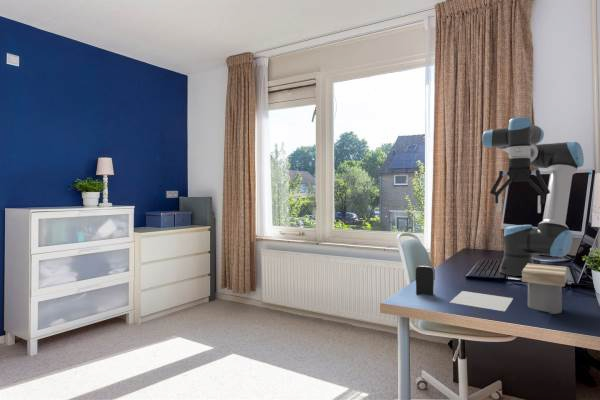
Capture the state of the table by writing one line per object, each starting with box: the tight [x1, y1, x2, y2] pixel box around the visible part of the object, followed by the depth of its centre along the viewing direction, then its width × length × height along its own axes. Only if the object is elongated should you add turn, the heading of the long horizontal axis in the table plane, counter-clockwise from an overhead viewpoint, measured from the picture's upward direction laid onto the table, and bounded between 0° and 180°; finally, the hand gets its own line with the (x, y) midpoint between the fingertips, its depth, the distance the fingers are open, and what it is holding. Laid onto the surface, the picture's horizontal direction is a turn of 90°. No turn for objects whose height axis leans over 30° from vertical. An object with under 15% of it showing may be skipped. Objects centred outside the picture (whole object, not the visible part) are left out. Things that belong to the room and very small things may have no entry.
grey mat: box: [449, 290, 514, 313], centre depth 143 cm, size 18×18×1 cm
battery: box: [415, 264, 436, 296], centre depth 153 cm, size 7×4×11 cm, turn 58°
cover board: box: [521, 263, 568, 288], centre depth 135 cm, size 16×12×4 cm
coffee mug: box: [527, 282, 563, 315], centre depth 135 cm, size 13×10×10 cm
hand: (518, 212), depth 153 cm, fingers open, 13 cm apart
